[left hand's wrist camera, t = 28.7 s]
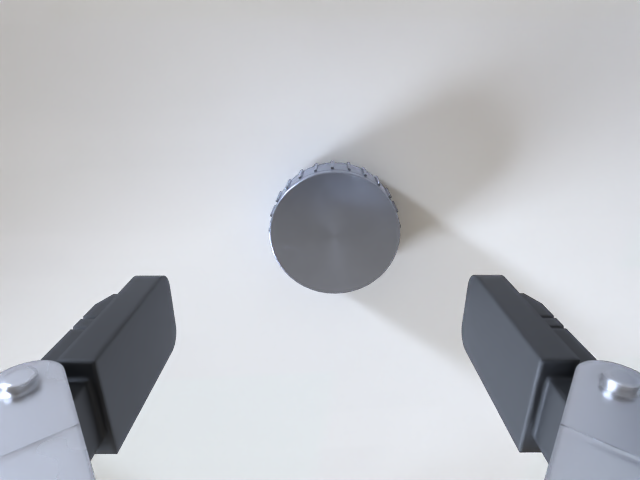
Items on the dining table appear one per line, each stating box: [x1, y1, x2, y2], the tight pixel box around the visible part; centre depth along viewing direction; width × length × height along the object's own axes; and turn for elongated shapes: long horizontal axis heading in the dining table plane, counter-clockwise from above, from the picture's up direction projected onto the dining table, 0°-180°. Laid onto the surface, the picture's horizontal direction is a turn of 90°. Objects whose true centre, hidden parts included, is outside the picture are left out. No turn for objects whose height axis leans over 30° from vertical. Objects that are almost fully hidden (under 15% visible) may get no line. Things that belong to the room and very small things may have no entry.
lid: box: [269, 161, 401, 293], centre depth 16 cm, size 5×5×2 cm
